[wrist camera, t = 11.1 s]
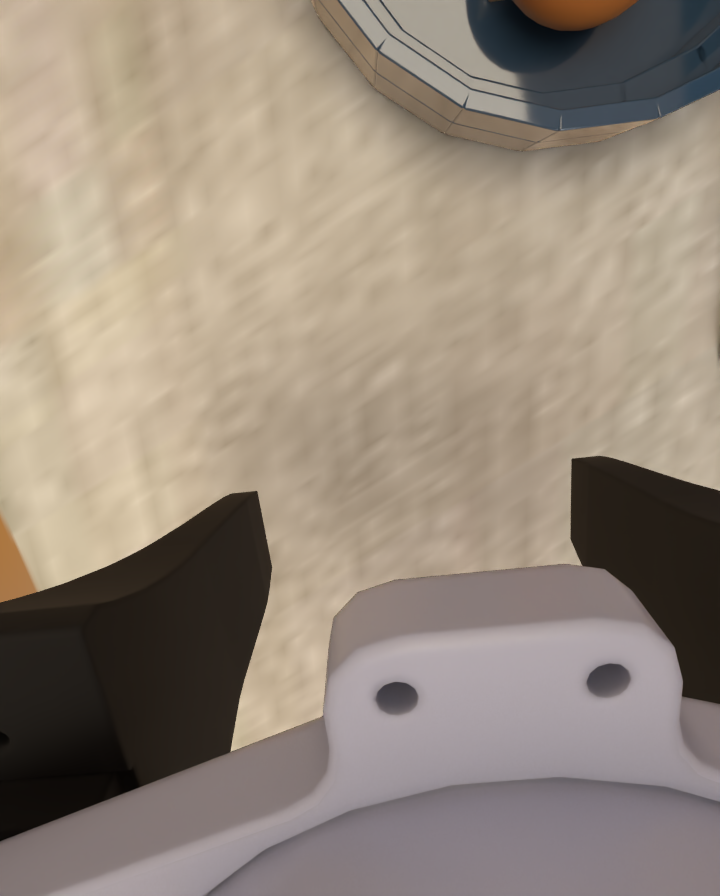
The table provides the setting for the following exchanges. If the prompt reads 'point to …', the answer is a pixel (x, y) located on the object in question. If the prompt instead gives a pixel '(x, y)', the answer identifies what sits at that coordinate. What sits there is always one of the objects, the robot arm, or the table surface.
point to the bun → (572, 12)
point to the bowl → (530, 66)
